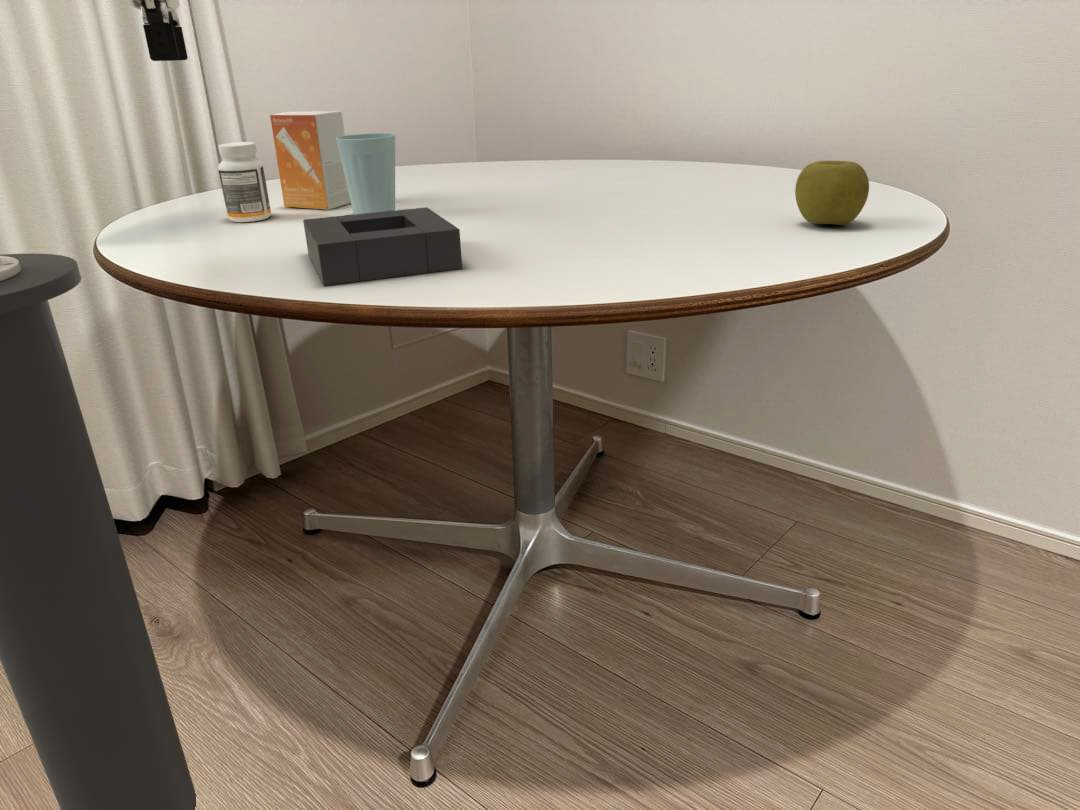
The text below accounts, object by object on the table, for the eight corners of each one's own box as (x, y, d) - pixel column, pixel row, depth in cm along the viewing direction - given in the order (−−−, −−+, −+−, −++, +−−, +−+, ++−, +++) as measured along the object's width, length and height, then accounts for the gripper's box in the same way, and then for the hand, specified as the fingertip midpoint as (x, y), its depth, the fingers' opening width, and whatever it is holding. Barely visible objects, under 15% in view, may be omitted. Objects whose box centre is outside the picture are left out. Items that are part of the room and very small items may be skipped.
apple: (791, 218, 97) (797, 157, 94) (861, 219, 95) (869, 157, 92) (792, 231, 90) (798, 166, 87) (866, 232, 88) (875, 166, 85)
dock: (323, 286, 75) (317, 244, 74) (308, 255, 87) (302, 219, 86) (462, 268, 80) (459, 228, 78) (430, 242, 92) (427, 207, 90)
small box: (283, 208, 116) (268, 114, 111) (310, 200, 121) (297, 110, 116) (328, 210, 113) (315, 113, 108) (354, 202, 118) (342, 110, 113)
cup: (335, 220, 106) (324, 138, 101) (363, 210, 112) (354, 132, 108) (385, 222, 103) (377, 138, 99) (412, 211, 110) (404, 133, 106)
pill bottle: (241, 214, 112) (228, 141, 108) (279, 214, 111) (266, 140, 107) (220, 223, 107) (205, 146, 103) (259, 223, 106) (245, 145, 102)
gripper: (116, -86, 100) (148, 61, 107) (86, -112, 85) (126, 62, 92) (179, -85, 102) (207, 59, 109) (161, -111, 87) (195, 59, 94)
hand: (170, 60), depth 100 cm, fingers open, 9 cm apart
